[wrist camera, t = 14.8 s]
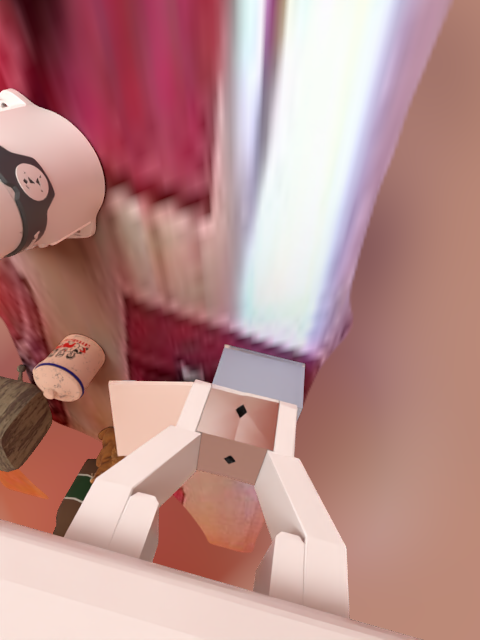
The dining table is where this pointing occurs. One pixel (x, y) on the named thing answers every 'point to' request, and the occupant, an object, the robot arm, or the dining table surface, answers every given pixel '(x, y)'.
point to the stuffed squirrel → (107, 452)
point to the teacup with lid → (69, 368)
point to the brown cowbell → (21, 420)
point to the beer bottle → (75, 497)
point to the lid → (144, 410)
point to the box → (261, 375)
